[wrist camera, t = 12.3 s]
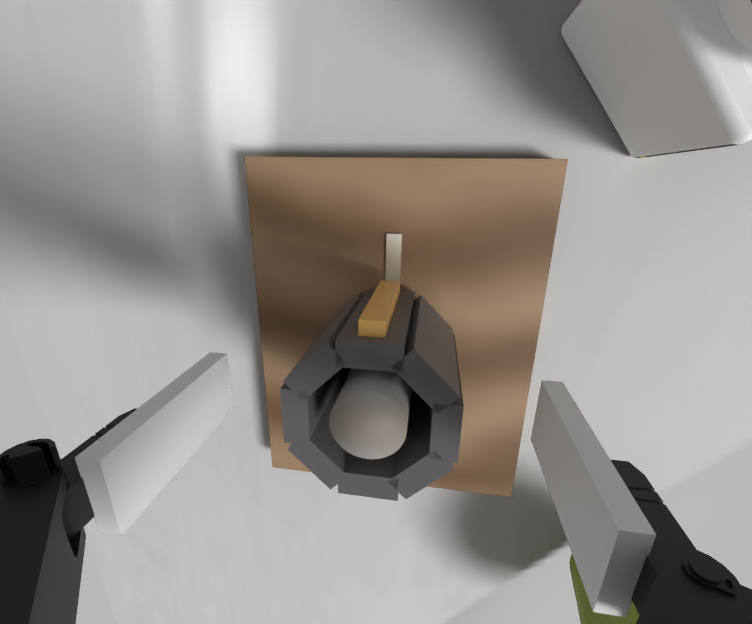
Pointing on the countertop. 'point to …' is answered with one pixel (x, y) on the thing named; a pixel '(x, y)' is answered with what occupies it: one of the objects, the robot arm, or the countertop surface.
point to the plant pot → (589, 619)
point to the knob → (382, 353)
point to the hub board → (408, 287)
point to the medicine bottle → (668, 70)
